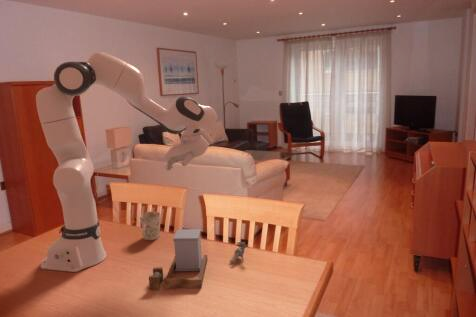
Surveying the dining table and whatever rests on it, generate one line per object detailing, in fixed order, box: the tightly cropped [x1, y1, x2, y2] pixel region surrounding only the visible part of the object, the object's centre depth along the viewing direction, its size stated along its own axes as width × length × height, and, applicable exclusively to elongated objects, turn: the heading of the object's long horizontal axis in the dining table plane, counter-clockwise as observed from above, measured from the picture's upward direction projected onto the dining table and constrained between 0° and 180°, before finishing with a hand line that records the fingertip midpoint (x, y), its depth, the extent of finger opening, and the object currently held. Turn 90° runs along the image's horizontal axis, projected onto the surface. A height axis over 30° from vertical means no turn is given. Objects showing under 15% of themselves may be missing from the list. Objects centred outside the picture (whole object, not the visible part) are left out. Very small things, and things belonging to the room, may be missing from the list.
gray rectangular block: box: [172, 228, 203, 272], centre depth 125 cm, size 8×7×12 cm
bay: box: [148, 254, 208, 291], centre depth 121 cm, size 16×19×4 cm
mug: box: [139, 210, 161, 241], centre depth 148 cm, size 8×13×10 cm, turn 174°
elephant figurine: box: [229, 241, 249, 264], centre depth 130 cm, size 10×6×9 cm
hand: (175, 167), depth 125 cm, fingers open, 8 cm apart
